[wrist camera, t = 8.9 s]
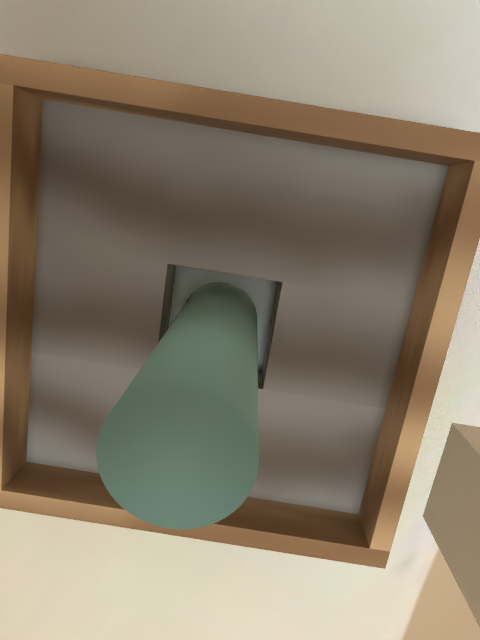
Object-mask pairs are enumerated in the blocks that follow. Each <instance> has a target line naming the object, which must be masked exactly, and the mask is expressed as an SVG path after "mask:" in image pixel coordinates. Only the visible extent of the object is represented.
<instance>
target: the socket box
mask: <svg viewBox="0 0 480 640" xmlns="http://www.w3.org/2000/svg"><path fill="white" fill-rule="evenodd" d="M479 238H480V133H476V132H470V131H464V130H458V129H452V128H446V127H440V126H434V125H428V124H422V123H415V122H409V121H403V120H397V119H391V118H385V117H379V116H373V115H367V114H361V113H355V112H349V111H343V110H336V109H330V108H324V107H318V106H312V105H306V104H300V103H294V102H288V101H282V100H276V99H270V98H264V97H257V96H251V95H245V94H239V93H233V92H227V91H221V90H215V89H209V88H203V87H197V86H191V85H184V84H178V83H172V82H166V81H160V80H154V79H148V78H142V77H136V76H130V75H124V74H118V73H112V72H105V71H99V70H93V69H87V68H81V67H75V66H69V65H63V64H57V63H51V62H45V61H39V60H33V59H26V58H20V57H14V56H8V55H2V54H0V508H4V509H10V510H17V511H23V512H29V513H36V514H42V515H48V516H55V517H61V518H67V519H74V520H80V521H86V522H93V523H99V524H106V525H112V526H118V527H125V528H131V529H137V530H144V531H150V532H156V533H163V534H169V535H175V536H182V537H188V538H194V539H201V540H207V541H213V542H220V543H226V544H232V545H239V546H245V547H251V548H258V549H264V550H270V551H277V552H283V553H289V554H296V555H302V556H309V557H315V558H321V559H328V560H334V561H340V562H347V563H353V564H359V565H366V566H372V567H378V568H385V567H386V564H387V560H388V557H389V553H390V550H391V546H392V543H393V539H394V536H395V532H396V529H397V525H398V522H399V518H400V515H401V511H402V508H403V504H404V501H405V497H406V494H407V490H408V487H409V483H410V480H411V476H412V473H413V469H414V466H415V462H416V459H417V455H418V452H419V448H420V445H421V441H422V438H423V434H424V431H425V427H426V424H427V420H428V417H429V413H430V410H431V406H432V403H433V399H434V396H435V392H436V389H437V385H438V382H439V378H440V375H441V371H442V368H443V364H444V361H445V357H446V354H447V350H448V347H449V343H450V340H451V336H452V333H453V329H454V326H455V322H456V319H457V315H458V312H459V308H460V305H461V301H462V298H463V294H464V291H465V287H466V284H467V280H468V277H469V273H470V270H471V266H472V263H473V259H474V256H475V252H476V249H477V245H478V242H479ZM175 265H179V266H185V267H192V268H198V269H204V270H210V271H216V272H223V273H229V274H235V275H241V276H247V277H253V278H260V279H266V280H272V281H278V288H277V293H276V299H275V304H274V310H273V316H272V321H271V327H270V332H269V338H268V343H267V349H266V354H265V360H264V365H263V371H258V442H259V465H258V473H257V477H256V481H255V483H254V486H253V488H252V490H251V492H250V494H249V495H248V497H247V498H246V500H245V501H244V502H243V503H242V504H241V506H240V507H239V508H237V509H236V510H235V511H234V512H233V513H232V514H230V515H229V516H227V517H226V518H224V519H222V520H220V521H218V522H216V523H214V524H211V525H208V526H205V527H201V528H195V529H179V530H177V529H168V528H163V527H158V526H155V525H152V524H149V523H147V522H144V521H142V520H140V519H138V518H137V517H135V516H133V515H132V514H130V513H129V512H127V511H126V510H125V509H124V508H122V507H121V506H120V505H119V504H118V503H117V502H116V501H115V500H114V498H113V497H112V496H111V495H110V493H109V492H108V490H107V489H106V487H105V485H104V483H103V481H102V479H101V476H100V473H99V470H98V466H97V459H96V446H97V440H98V435H99V432H100V429H101V427H102V425H103V423H104V421H105V419H106V417H107V416H108V415H109V413H110V412H111V410H112V409H113V407H114V406H115V405H116V403H117V402H118V400H119V399H120V397H121V396H122V395H123V393H124V392H125V390H126V389H127V387H128V386H129V384H130V383H131V382H132V380H133V379H134V377H135V376H136V374H137V373H138V372H139V370H140V369H141V367H142V366H143V364H144V363H145V362H146V360H147V359H148V357H149V356H150V354H151V353H152V351H153V350H154V349H155V347H156V346H157V344H158V343H159V341H160V340H161V339H162V337H163V336H164V334H165V333H166V331H167V330H168V322H169V314H170V306H171V298H172V290H173V282H174V273H175Z"/></svg>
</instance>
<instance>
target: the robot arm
mask: <svg viewBox="0 0 480 640" xmlns="http://www.w3.org/2000/svg"><path fill="white" fill-rule="evenodd" d="M423 517H424V519H425V521H426V523H427V525H428V527H429V529H430V531H431V533H432V535H433V537H434V539H435V541H436V543H437V545H438V547H439V549H440V551H441V552H442V554H443V556H444V558H445V560H446V562H447V564H448V566H449V568H450V570H451V572H452V574H453V576H454V578H455V580H456V582H457V584H458V586H459V588H460V589H461V591H462V593H463V595H464V597H465V599H466V601H467V603H468V605H469V607H470V609H471V611H472V613H473V615H474V617H475V619H476V621H477V623H478V625H479V627H480V427H474V426H468V425H462V424H456V423H452V425H451V428H450V431H449V435H448V438H447V441H446V444H445V447H444V451H443V454H442V457H441V460H440V463H439V466H438V470H437V473H436V476H435V479H434V482H433V486H432V489H431V492H430V495H429V498H428V501H427V505H426V508H425V511H424V514H423Z"/></svg>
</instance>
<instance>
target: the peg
mask: <svg viewBox="0 0 480 640" xmlns="http://www.w3.org/2000/svg"><path fill="white" fill-rule="evenodd" d="M96 459H97V466H98V470H99V473H100V476H101V479H102V481H103V483H104V485H105V487H106V489H107V490H108V492H109V493H110V495H111V496H112V497H113V498H114V500H115V501H116V502H117V503H118V504H119V505H120V506H121V507H122V508H124V509H125V510H126V511H127V512H129V513H130V514H132V515H133V516H135V517H137V518H138V519H140V520H142V521H144V522H147V523H149V524H152V525H155V526H158V527H163V528H168V529H177V530H179V529H195V528H201V527H205V526H208V525H211V524H214V523H216V522H218V521H220V520H222V519H224V518H226V517H227V516H229V515H230V514H232V513H233V512H234V511H235V510H236V509H237V508H239V507H240V506H241V504H242V503H243V502H244V501H245V500H246V498H247V497H248V495H249V494H250V492H251V490H252V488H253V486H254V483H255V481H256V477H257V473H258V465H259V442H258V355H257V313H256V309H255V306H254V304H253V302H252V300H251V299H250V297H249V296H248V295H247V294H246V293H245V292H244V291H242V290H241V289H240V288H238V287H236V286H233V285H231V284H226V283H213V284H209V285H206V286H203V287H201V288H200V289H198V290H197V291H196V292H195V293H194V294H193V295H192V296H191V297H190V298H189V300H188V301H187V303H186V304H185V306H184V307H183V308H182V310H181V311H180V313H179V314H178V316H177V317H176V318H175V320H174V321H173V323H172V324H171V326H170V327H169V328H168V330H167V331H166V333H165V334H164V336H163V337H162V339H161V340H160V341H159V343H158V344H157V346H156V347H155V349H154V350H153V351H152V353H151V354H150V356H149V357H148V359H147V360H146V362H145V363H144V364H143V366H142V367H141V369H140V370H139V372H138V373H137V374H136V376H135V377H134V379H133V380H132V382H131V383H130V384H129V386H128V387H127V389H126V390H125V392H124V393H123V395H122V396H121V397H120V399H119V400H118V402H117V403H116V405H115V406H114V407H113V409H112V410H111V412H110V413H109V415H108V416H107V417H106V419H105V421H104V423H103V425H102V427H101V429H100V432H99V435H98V440H97V446H96Z"/></svg>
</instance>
